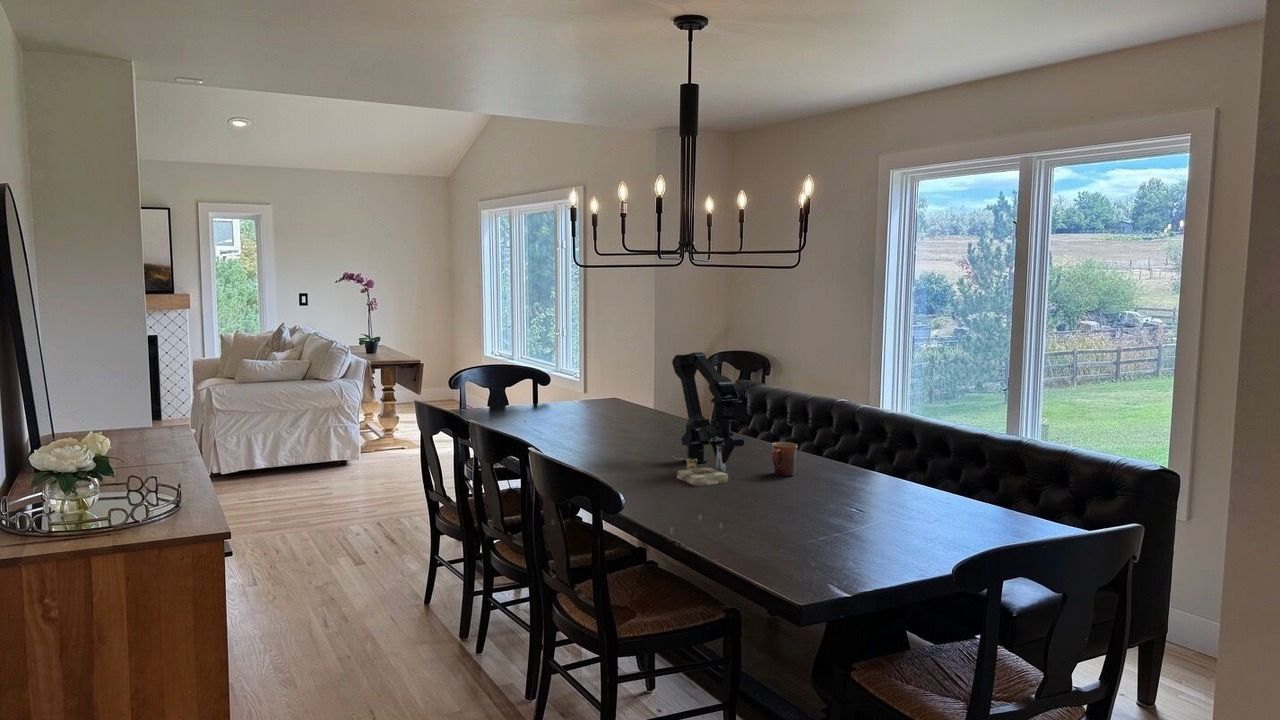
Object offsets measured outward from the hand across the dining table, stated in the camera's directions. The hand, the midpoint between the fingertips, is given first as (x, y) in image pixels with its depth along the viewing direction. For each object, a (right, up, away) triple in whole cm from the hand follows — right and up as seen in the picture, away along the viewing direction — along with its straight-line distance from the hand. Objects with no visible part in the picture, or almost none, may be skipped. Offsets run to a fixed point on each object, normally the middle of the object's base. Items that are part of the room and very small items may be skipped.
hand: (721, 462), depth 298 cm
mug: (+20, -4, -4) cm, 21 cm away
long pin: (0, -3, 0) cm, 3 cm away
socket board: (-7, -4, -13) cm, 16 cm away
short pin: (-10, -3, -2) cm, 11 cm away
